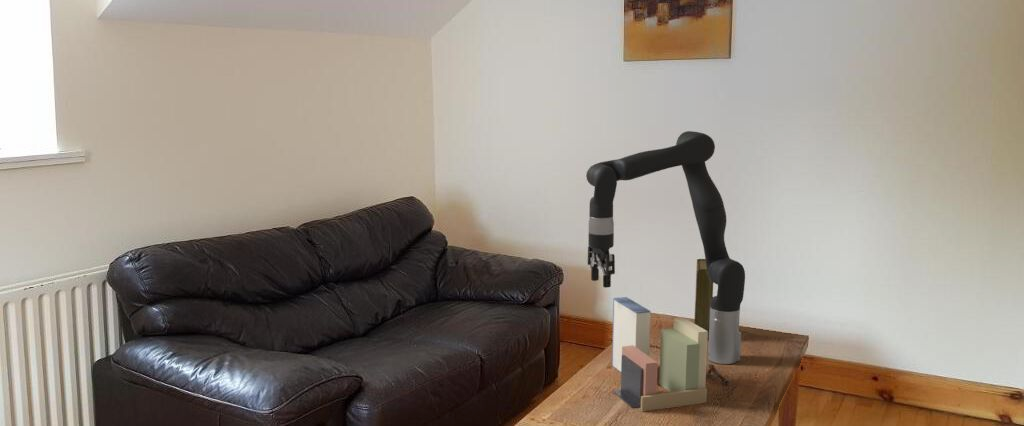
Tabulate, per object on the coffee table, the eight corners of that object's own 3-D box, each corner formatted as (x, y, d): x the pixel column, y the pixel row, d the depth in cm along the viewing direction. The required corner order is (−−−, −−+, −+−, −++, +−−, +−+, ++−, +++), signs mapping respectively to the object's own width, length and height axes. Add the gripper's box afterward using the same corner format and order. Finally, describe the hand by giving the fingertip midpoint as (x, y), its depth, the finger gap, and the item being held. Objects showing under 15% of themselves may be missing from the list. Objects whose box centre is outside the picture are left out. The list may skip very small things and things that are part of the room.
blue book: (624, 364, 271) (626, 296, 267) (648, 381, 256) (650, 311, 252) (611, 365, 269) (613, 298, 265) (634, 383, 254) (636, 312, 250)
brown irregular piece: (707, 372, 261) (712, 361, 259) (724, 390, 256) (729, 379, 253) (702, 374, 260) (707, 363, 258) (720, 392, 255) (725, 380, 252)
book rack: (680, 381, 256) (682, 317, 253) (709, 402, 241) (712, 333, 237) (616, 389, 250) (618, 323, 246) (642, 411, 234) (644, 341, 231)
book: (694, 325, 310) (696, 258, 306) (709, 326, 309) (712, 259, 305) (694, 339, 294) (697, 269, 290) (710, 341, 293) (713, 270, 289)
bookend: (623, 390, 249) (624, 354, 247) (642, 406, 237) (643, 368, 235) (613, 392, 248) (614, 355, 246) (631, 408, 236) (632, 370, 234)
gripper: (623, 234, 250) (622, 288, 253) (602, 225, 263) (602, 277, 266) (599, 236, 247) (599, 290, 250) (580, 227, 261) (579, 279, 264)
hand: (600, 283), depth 258 cm, fingers open, 8 cm apart
